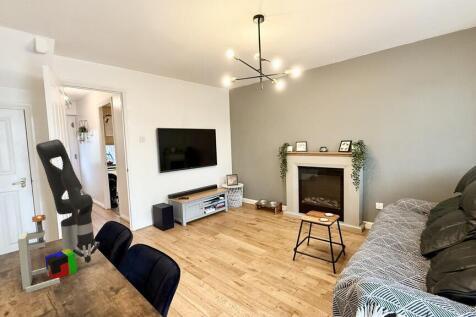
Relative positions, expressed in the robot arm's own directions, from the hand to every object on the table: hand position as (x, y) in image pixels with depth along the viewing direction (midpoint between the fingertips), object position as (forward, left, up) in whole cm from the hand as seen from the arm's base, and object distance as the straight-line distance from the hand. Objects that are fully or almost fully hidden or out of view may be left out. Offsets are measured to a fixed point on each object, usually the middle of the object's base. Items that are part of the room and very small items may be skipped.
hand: (88, 262), depth 125 cm
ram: (+18, 0, +14) cm, 23 cm away
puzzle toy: (+11, -1, -2) cm, 12 cm away
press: (+18, 0, -2) cm, 19 cm away
